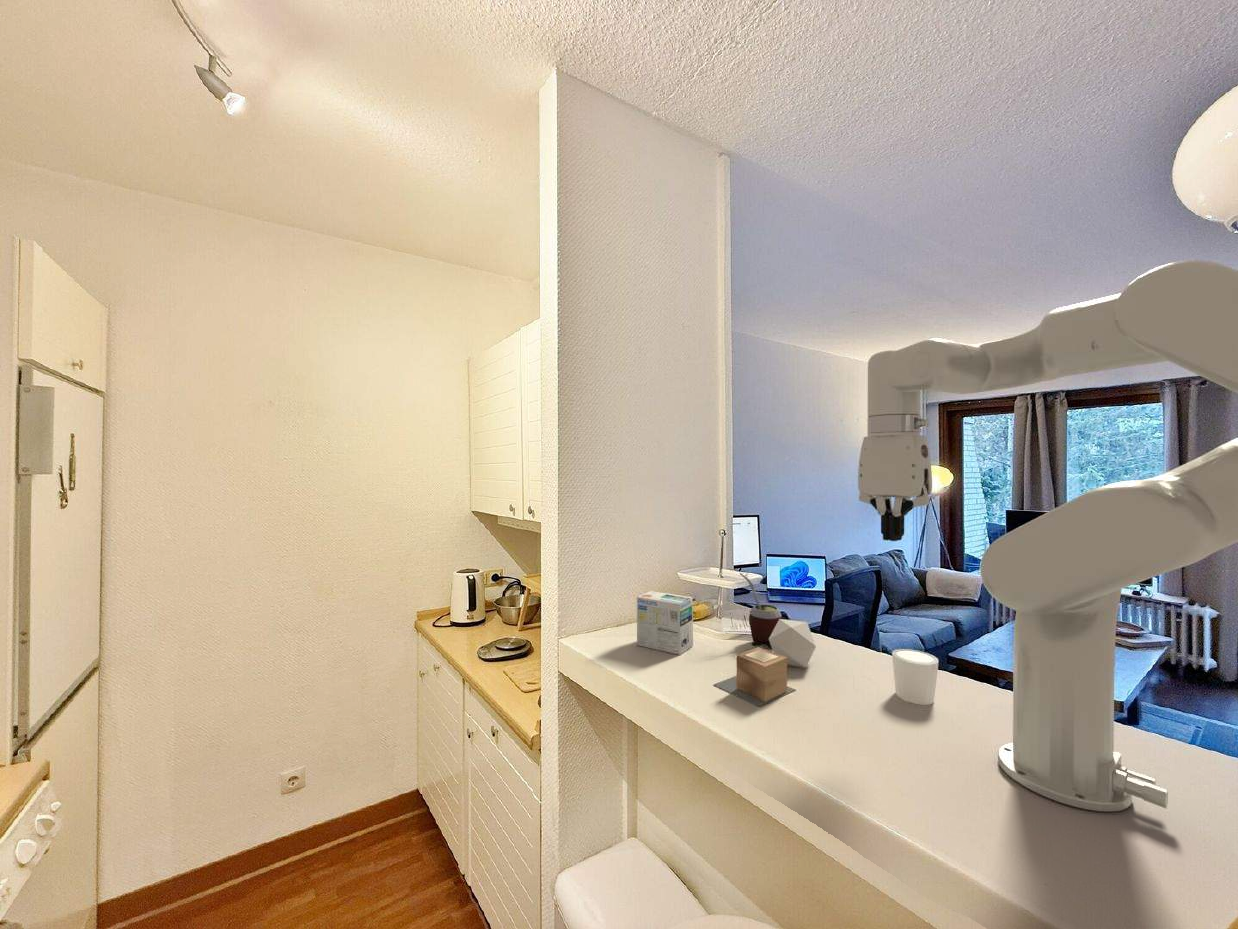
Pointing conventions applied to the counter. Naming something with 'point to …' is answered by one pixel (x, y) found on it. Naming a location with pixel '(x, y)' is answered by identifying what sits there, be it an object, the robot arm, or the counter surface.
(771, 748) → the counter surface
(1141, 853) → the counter surface
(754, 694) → the walnut block
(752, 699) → the mat
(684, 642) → the light bulb box
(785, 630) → the die
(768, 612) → the mate gourd
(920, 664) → the white cylinder
